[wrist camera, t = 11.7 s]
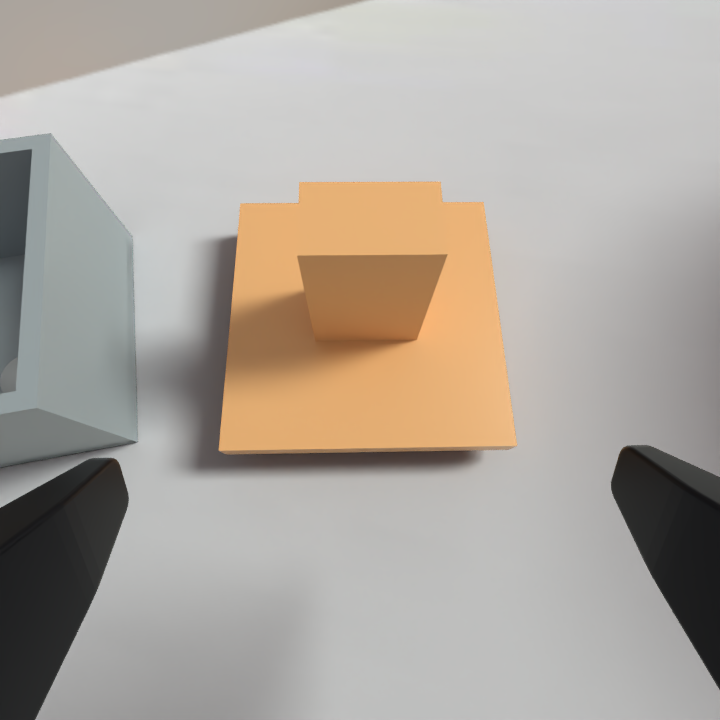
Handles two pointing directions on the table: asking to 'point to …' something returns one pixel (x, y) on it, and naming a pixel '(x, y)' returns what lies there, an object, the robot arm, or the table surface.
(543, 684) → the table surface
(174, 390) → the table surface
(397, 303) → the lid
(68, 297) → the tub
